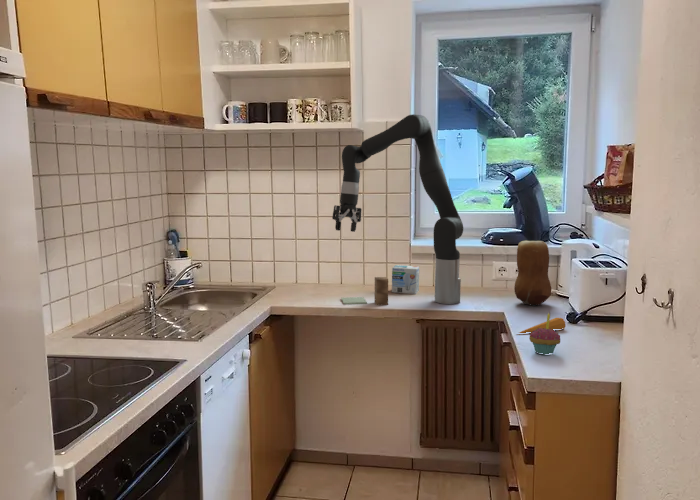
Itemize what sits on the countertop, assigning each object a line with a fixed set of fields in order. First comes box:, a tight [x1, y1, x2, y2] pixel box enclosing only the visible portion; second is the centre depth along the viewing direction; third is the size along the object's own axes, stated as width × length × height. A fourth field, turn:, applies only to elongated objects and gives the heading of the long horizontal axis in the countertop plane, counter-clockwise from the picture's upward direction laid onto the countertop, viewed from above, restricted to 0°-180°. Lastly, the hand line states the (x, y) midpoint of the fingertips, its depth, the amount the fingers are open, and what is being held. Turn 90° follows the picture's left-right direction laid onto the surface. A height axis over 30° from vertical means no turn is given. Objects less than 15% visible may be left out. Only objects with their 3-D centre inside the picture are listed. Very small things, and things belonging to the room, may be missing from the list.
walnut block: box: [374, 276, 389, 306], centre depth 228 cm, size 4×4×10 cm
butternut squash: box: [514, 240, 552, 306], centre depth 226 cm, size 14×13×25 cm
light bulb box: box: [391, 264, 420, 295], centre depth 250 cm, size 11×7×11 cm, turn 73°
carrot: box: [518, 317, 567, 333], centre depth 191 cm, size 20×4×4 cm, turn 112°
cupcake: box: [529, 310, 561, 354], centre depth 169 cm, size 9×8×12 cm
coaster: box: [340, 296, 368, 305], centre depth 233 cm, size 9×9×1 cm
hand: (345, 231), depth 253 cm, fingers open, 8 cm apart
